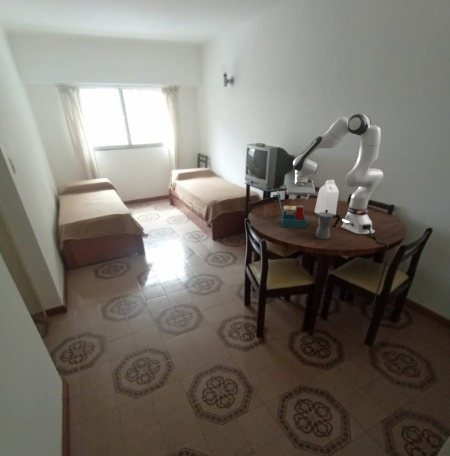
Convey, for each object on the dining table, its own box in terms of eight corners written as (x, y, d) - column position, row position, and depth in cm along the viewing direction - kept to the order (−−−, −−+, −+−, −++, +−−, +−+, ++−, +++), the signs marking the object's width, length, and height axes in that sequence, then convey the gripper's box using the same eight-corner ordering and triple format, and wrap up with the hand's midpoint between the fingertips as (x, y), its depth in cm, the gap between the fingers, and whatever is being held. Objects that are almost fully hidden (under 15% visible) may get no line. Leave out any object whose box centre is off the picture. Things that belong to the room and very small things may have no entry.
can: (303, 224, 197) (305, 206, 191) (296, 225, 196) (298, 207, 190) (300, 222, 202) (302, 204, 196) (293, 223, 201) (295, 205, 195)
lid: (278, 190, 197) (271, 191, 198) (278, 194, 185) (271, 196, 187) (282, 213, 204) (276, 214, 205) (282, 218, 193) (276, 220, 194)
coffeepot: (311, 237, 179) (315, 211, 170) (312, 232, 186) (316, 206, 177) (336, 241, 173) (341, 213, 165) (336, 235, 181) (342, 209, 172)
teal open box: (303, 222, 205) (304, 214, 202) (305, 228, 193) (306, 220, 191) (281, 221, 207) (282, 213, 204) (281, 227, 196) (282, 219, 193)
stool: (295, 215, 217) (296, 206, 214) (296, 220, 209) (297, 209, 205) (282, 215, 219) (283, 205, 215) (283, 219, 210) (284, 209, 206)
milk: (326, 210, 228) (332, 178, 216) (335, 214, 219) (342, 181, 206) (314, 212, 225) (319, 179, 212) (323, 216, 216) (328, 182, 203)
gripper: (286, 180, 202) (285, 197, 198) (315, 180, 199) (315, 197, 195) (286, 185, 208) (285, 201, 204) (313, 185, 205) (313, 202, 201)
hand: (299, 199), depth 200 cm, fingers open, 8 cm apart
